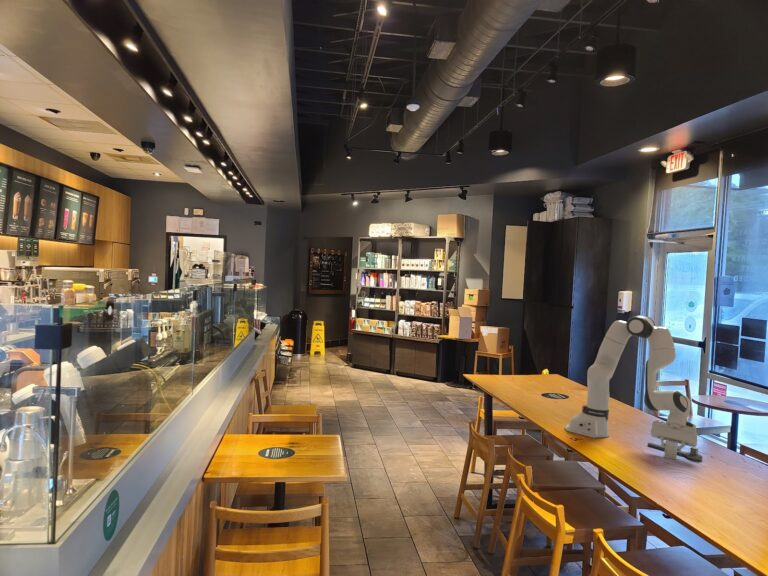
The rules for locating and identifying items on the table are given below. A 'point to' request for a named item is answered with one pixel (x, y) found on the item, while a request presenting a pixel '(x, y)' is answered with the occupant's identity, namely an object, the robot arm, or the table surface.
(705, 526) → the table surface
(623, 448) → the table surface
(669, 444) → the tan wooden block
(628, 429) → the table surface
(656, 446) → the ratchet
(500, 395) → the table surface
